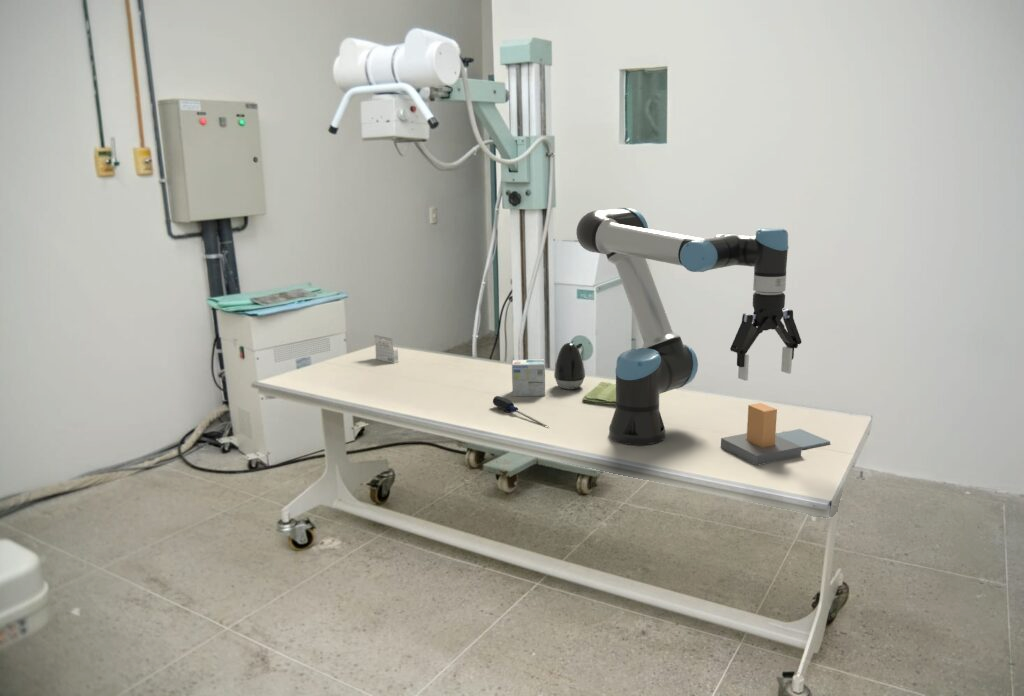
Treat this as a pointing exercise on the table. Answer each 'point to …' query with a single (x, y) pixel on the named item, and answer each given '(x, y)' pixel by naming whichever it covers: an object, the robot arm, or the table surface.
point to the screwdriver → (510, 407)
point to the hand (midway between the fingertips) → (764, 375)
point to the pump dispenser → (569, 367)
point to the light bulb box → (528, 377)
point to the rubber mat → (803, 438)
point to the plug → (761, 425)
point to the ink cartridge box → (385, 349)
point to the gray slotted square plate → (760, 449)
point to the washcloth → (602, 394)
